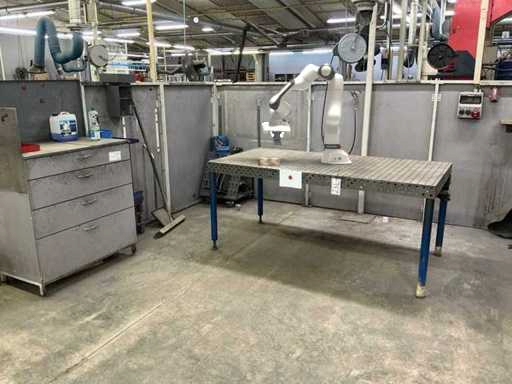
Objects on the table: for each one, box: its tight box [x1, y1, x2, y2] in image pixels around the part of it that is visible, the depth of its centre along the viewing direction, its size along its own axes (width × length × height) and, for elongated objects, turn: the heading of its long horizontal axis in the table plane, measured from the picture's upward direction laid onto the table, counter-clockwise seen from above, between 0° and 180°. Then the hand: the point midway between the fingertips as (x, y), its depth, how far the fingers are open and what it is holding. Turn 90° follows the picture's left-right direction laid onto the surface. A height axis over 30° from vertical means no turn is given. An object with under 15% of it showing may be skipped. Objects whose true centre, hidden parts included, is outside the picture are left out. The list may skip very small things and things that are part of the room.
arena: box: [259, 155, 281, 167], centre depth 289 cm, size 14×14×5 cm
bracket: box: [272, 131, 283, 146], centre depth 287 cm, size 5×8×9 cm, turn 5°
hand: (277, 137), depth 288 cm, fingers closed on bracket, 5 cm apart
